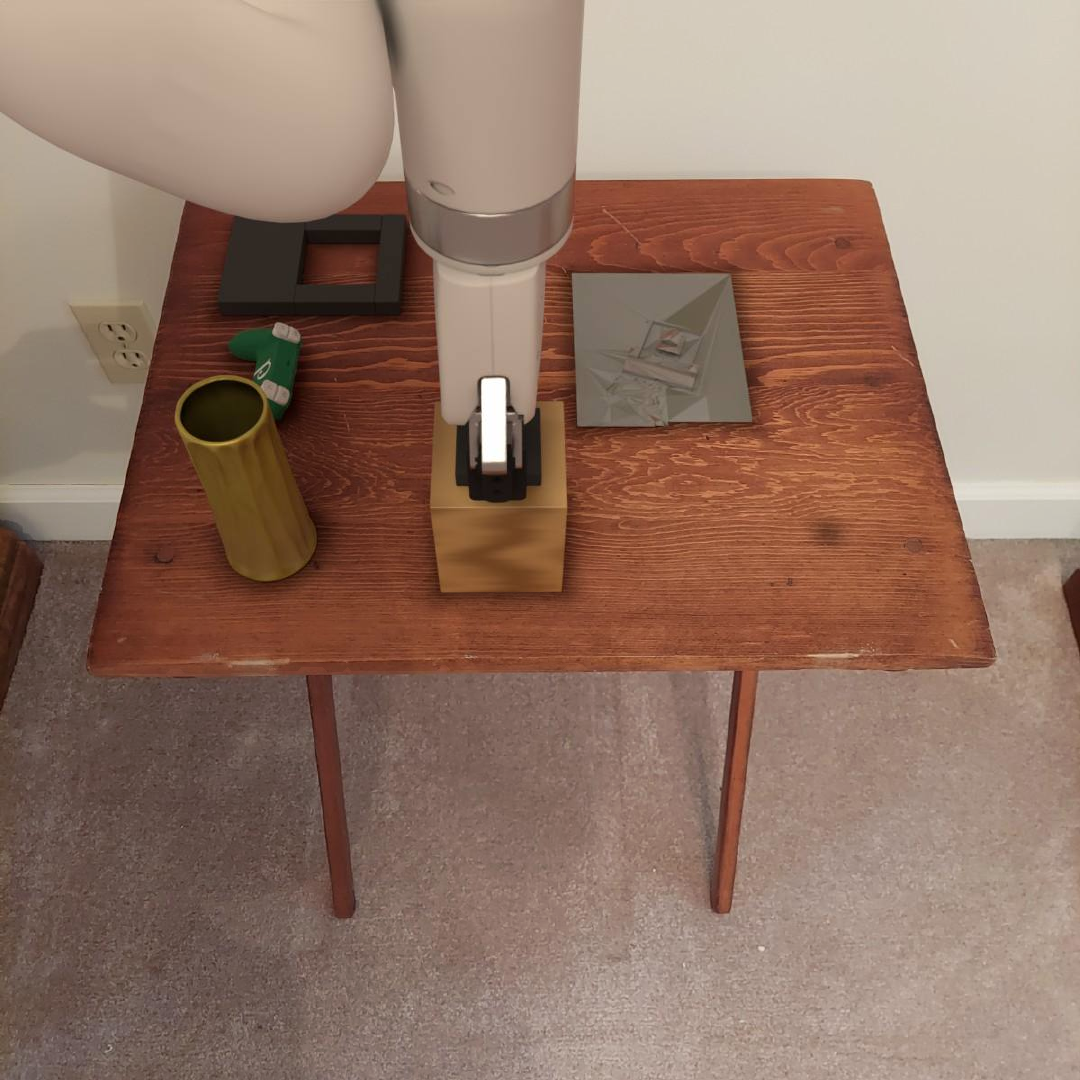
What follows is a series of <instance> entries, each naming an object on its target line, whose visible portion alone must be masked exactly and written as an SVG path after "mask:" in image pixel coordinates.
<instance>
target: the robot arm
mask: <svg viewBox="0 0 1080 1080" xmlns="http://www.w3.org/2000/svg"><path fill="white" fill-rule="evenodd" d="M585 1H586V0H0V113H1V114H3V115H4V116H6V117H7V118H9V119H10V120H12V121H13V122H15V123H16V124H18V125H19V126H21V127H22V128H24V129H25V130H26V131H29V132H30V133H32V134H34V135H35V136H37V137H39V138H40V139H43V140H44V141H46V142H48V143H49V144H51V145H53V146H55V147H56V148H58V149H61V150H63V151H65V152H67V153H69V154H71V155H74V156H75V157H77V158H80V159H82V160H84V161H86V162H88V163H90V164H93V165H95V166H98V167H101V168H102V169H104V170H105V169H106V170H108V171H111V172H113V173H116V174H118V175H121V176H124V177H126V178H129V179H131V180H134V181H136V182H139V183H141V184H143V185H147V186H148V187H151V188H154V189H156V190H159V191H162V192H164V193H166V194H169V195H172V196H174V197H176V198H179V199H182V200H185V201H187V202H189V203H193V204H195V205H198V206H201V207H205V208H207V209H211V210H213V211H217V212H220V213H222V214H223V213H224V214H227V215H232V216H235V215H236V216H240V217H244V218H248V219H253V220H260V221H269V222H278V223H293V222H308V221H313V220H318V219H322V218H326V217H328V216H331V215H333V214H339V213H340V212H342V211H345V210H347V209H349V208H350V207H351V206H353V205H354V204H356V203H357V202H358V201H360V200H361V199H362V198H364V196H365V195H366V194H367V193H368V191H370V189H371V188H372V187H373V186H374V185H375V184H376V183H377V181H378V180H379V178H380V176H381V174H382V172H383V170H384V168H385V166H386V165H387V163H388V159H389V156H390V153H391V149H392V145H393V140H394V133H395V126H396V125H395V124H396V122H395V120H396V119H395V114H396V115H397V116H396V117H397V124H398V133H399V141H400V150H401V158H402V160H401V161H402V169H403V179H404V186H405V196H406V203H407V204H406V205H407V212H408V220H409V228H410V232H411V234H412V237H413V238H414V241H415V242H416V244H417V245H418V247H419V248H420V249H421V250H422V251H423V252H424V253H425V254H426V255H427V256H428V257H430V258H432V277H433V279H432V281H433V301H434V303H433V304H434V318H435V334H436V346H437V359H438V361H437V362H438V374H439V389H440V390H439V391H440V402H441V413H442V417H443V419H444V420H445V421H446V422H447V423H448V424H449V425H465V424H466V423H467V422H468V420H469V444H470V450H466V461H467V474H468V488H469V498H470V499H472V500H475V501H487V502H490V503H504V502H508V501H511V500H524V499H525V498H526V495H527V450H522V420H524V424H526V423H528V422H529V421H530V420H531V419H532V418H533V417H534V415H535V408H536V401H537V397H538V388H539V380H540V368H541V357H542V346H543V331H544V318H545V316H544V315H545V299H546V297H545V296H546V277H547V275H546V273H547V261H548V260H549V259H551V258H552V257H553V256H554V255H556V254H557V253H558V252H559V251H560V250H561V249H562V248H563V247H564V246H565V244H567V242H568V239H569V238H570V236H571V234H572V232H573V231H572V230H573V227H574V219H575V199H576V179H577V157H578V141H579V139H578V138H579V119H580V117H579V116H580V95H581V94H580V93H581V78H582V77H581V75H582V58H583V57H582V56H583V55H582V54H583V39H584V37H583V36H584V22H585V21H584V20H585V4H586V3H585ZM394 97H395V98H394ZM395 105H396V106H395ZM395 107H396V113H395ZM506 395H509V398H510V403H511V405H512V406H506ZM479 398H481V406H477V405H478V403H479ZM480 423H482V444H481V447H480ZM507 423H512V444H507Z"/></svg>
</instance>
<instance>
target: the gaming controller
mask: <svg viewBox="0 0 1080 1080" xmlns="http://www.w3.org/2000/svg"><path fill="white" fill-rule="evenodd" d="M302 343H303V338H302V335H301V333H300V331H298V330H297V329H296V328H294V327H293V326H289V325H288V324H285V323H283V322H280V321H279V322H278V321H276V322H275V324H274V326H273V327H265V328H261V327H260V328H252V329H246V330H242V331H240V332H238V333H236V334H234V335H233V337H232V338H231V339H230V340H229V341H228V344H227V348H228V350H229V352H230V353H231V354H232V355H233V356H234V357H236V358H238V359H240V360H243V361H247V362H255V363H256V364H255V368H254V373H253V378H252V381H253V382H255V383H256V384H257V385H259V386H260V387H261V388H262V390H263V391H264V393H265V395H266V397H267V400H268V402H269V406H270V409H271V411H272V415H273V418H274V421H275V422H276V421H280V420H281V419H282V418H283V414H284V413H285V412H286V411H287V410H288V407H289V406H290V403H291V401H292V396H293V389H294V385H295V380H296V374H297V369H298V363H299V357H300V352H301V349H302Z"/></svg>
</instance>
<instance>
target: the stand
mask: <svg viewBox="0 0 1080 1080" xmlns="http://www.w3.org/2000/svg"><path fill="white" fill-rule="evenodd" d="M477 406H478V405H477ZM536 408H540V423H541V473H542V475H541V486H527V495H526V498H525V499H524V500H511V501H508V502H504V503H490V502H487V501H475V500H472V499H470V498H469V488H468V486H456V478H455V464H456V434H457V425H449V424H448V423H447V422H446V421H445V420H444V419H443V417H442V413H441V401H434V408H433V409H434V411H433V429H432V449H431V451H432V452H431V471H430V491H429V492H430V493H429V513H430V520H431V528H432V536H433V543H434V550H435V559H436V566H437V574H438V582H439V589H440V590H439V591H440V593H555V592H556V593H561V592H562V591H563V582H564V567H565V566H564V565H565V551H566V536H567V533H566V532H567V521H568V520H567V518H568V488H567V487H568V486H567V456H566V455H567V453H566V432H565V431H566V427H565V403H564V400H563V401H562V400H549V401H548V400H540V401H538V400H536Z"/></svg>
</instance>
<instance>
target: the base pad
mask: <svg viewBox="0 0 1080 1080" xmlns="http://www.w3.org/2000/svg"><path fill="white" fill-rule="evenodd" d="M233 216H234V217H233V221H232V226H231V230H230V236H229V240H228V246H227V252H226V255H225V259H224V260H225V261H224V265H223V270H222V275H221V280H220V285H219V289H218V295H217V299H216V303H217V306H218V309H219V313H220V316H222V317H223V316H225V317H227V316H230V317H231V316H233V317H234V316H237V317H238V316H400V315H401V314H402V302H403V300H402V299H403V287H404V275H405V260H406V249H407V235H408V224H407V215H406V214H405V213H404V214H403V213H386V214H385V213H383V214H382V213H379V214H378V213H376V214H375V213H373V214H372V213H370V214H369V213H335V214H333V215H331V216H328V217H326V218H322V219H318V220H313V221H308V222H293V223H278V222H269V221H260V220H253V219H248V218H244V217H240V216H236V215H233ZM308 244H379V249H378V250H379V251H378V259H377V270H376V280H375V284H302V283H303V277H304V270H305V262H306V257H307V249H308Z"/></svg>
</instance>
